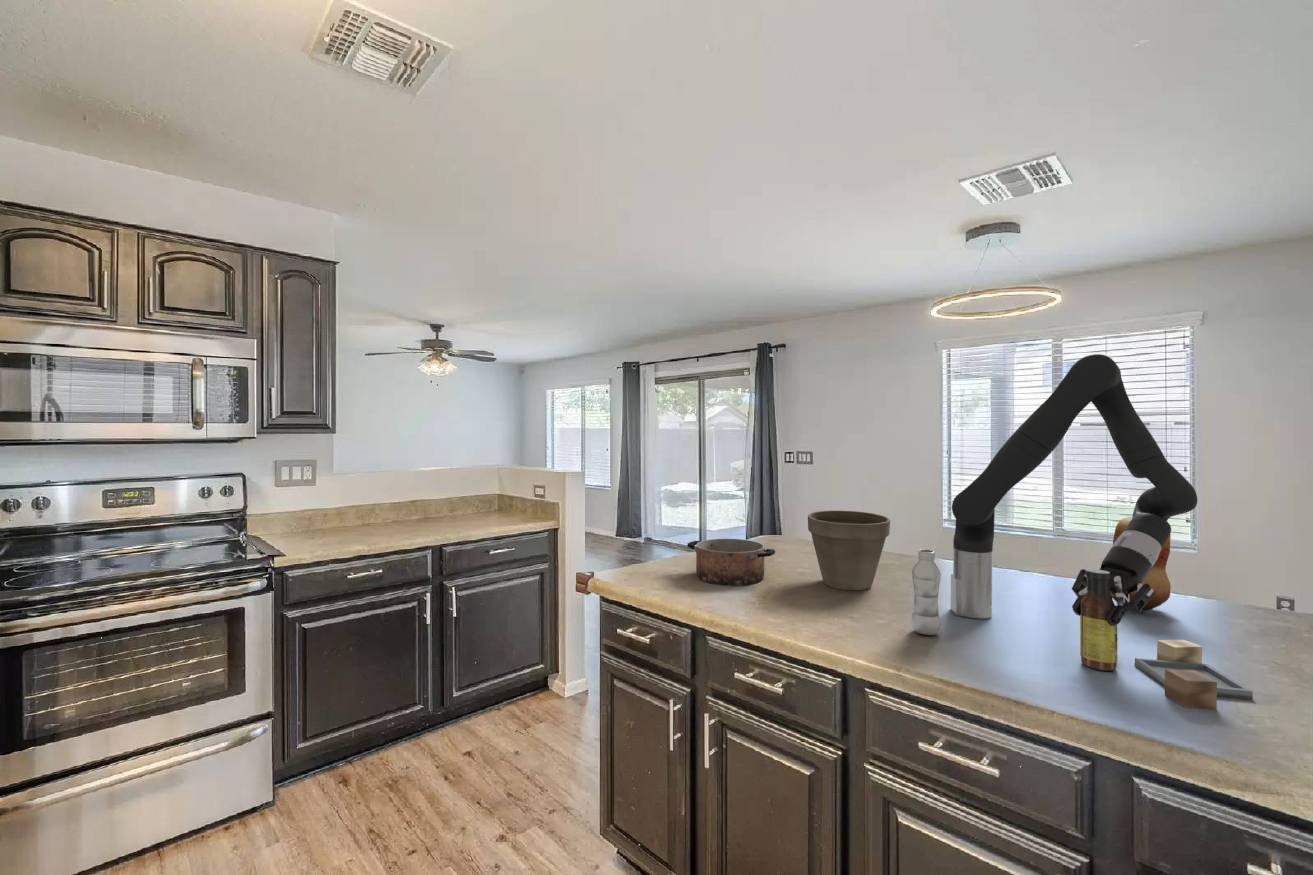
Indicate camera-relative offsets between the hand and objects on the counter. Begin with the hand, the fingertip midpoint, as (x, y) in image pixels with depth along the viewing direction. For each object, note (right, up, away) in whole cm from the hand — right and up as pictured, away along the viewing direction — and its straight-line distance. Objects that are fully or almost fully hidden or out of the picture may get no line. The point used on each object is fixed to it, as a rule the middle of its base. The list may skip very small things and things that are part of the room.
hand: (1092, 617), depth 122 cm
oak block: (+20, -10, +2) cm, 22 cm away
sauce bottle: (+2, -10, +1) cm, 11 cm away
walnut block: (+6, -11, -15) cm, 20 cm away
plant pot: (-30, -9, +63) cm, 71 cm away
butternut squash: (+41, -10, +38) cm, 57 cm away
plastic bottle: (-26, -10, +20) cm, 34 cm away
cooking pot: (-66, -9, +73) cm, 99 cm away
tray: (+14, -10, -6) cm, 19 cm away
